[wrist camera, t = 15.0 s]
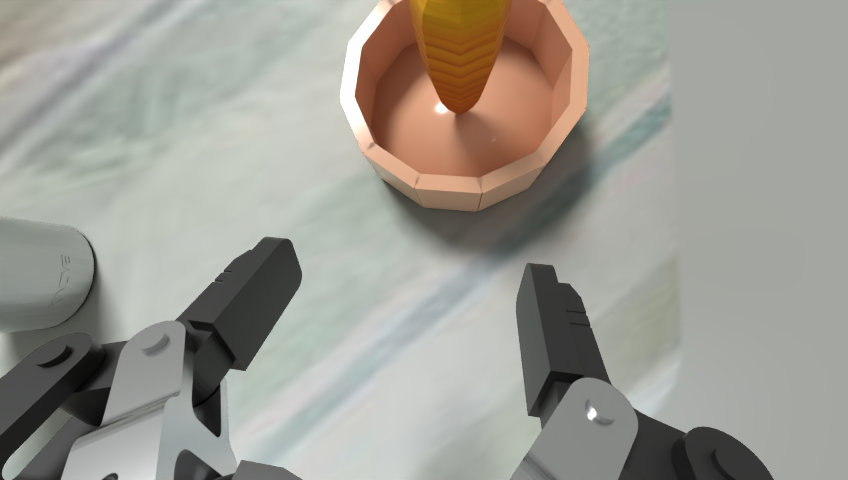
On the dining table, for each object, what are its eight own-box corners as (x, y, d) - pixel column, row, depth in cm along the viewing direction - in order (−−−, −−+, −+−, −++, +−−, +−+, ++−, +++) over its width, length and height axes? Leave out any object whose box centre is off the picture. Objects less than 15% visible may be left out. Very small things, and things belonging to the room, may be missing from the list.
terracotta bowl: (353, 201, 25) (326, 182, 20) (377, 26, 27) (359, -31, 22) (555, 218, 23) (582, 200, 18) (566, 27, 25) (593, -36, 20)
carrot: (415, 113, 24) (347, -149, 9) (459, 69, 24) (459, -257, 10) (460, 153, 23) (461, -67, 9) (505, 107, 23) (583, -187, 9)
